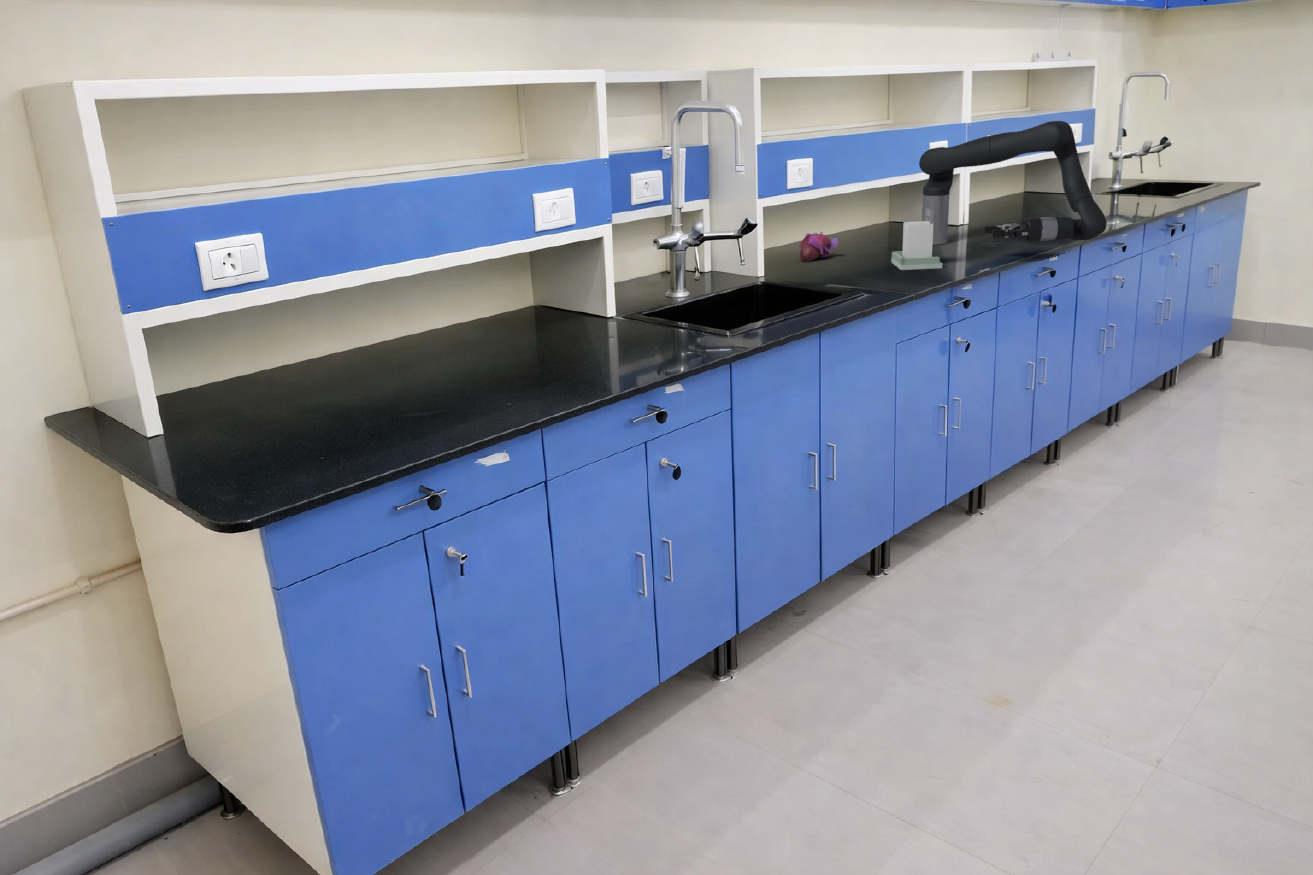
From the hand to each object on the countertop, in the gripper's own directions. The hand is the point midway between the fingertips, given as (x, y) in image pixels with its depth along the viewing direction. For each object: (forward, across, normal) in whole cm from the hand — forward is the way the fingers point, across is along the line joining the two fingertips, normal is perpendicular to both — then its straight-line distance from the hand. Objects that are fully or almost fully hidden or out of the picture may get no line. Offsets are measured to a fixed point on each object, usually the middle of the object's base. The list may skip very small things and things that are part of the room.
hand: (988, 232), depth 313 cm
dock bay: (+23, 0, +10) cm, 25 cm away
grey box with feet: (+22, 0, +8) cm, 24 cm away
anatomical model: (+53, -20, +10) cm, 57 cm away
